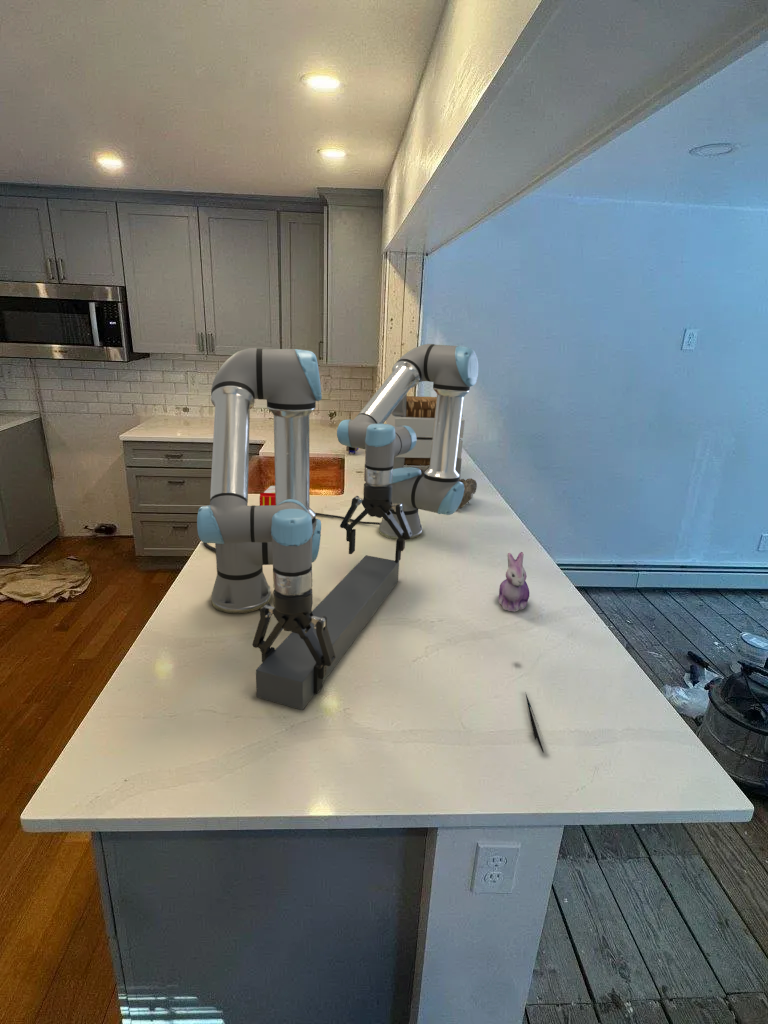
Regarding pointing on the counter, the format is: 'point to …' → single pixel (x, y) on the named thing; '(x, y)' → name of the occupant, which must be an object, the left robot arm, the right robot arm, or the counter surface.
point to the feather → (534, 723)
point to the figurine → (514, 585)
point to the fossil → (468, 491)
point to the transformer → (419, 430)
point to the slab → (347, 615)
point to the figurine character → (351, 449)
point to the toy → (268, 497)
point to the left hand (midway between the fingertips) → (294, 683)
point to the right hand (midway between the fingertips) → (374, 556)
